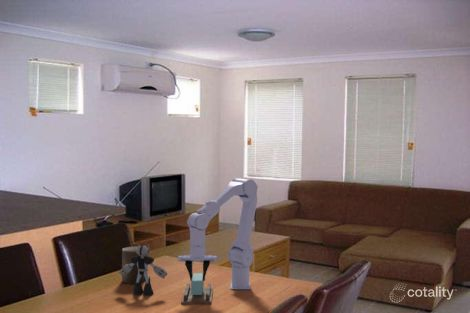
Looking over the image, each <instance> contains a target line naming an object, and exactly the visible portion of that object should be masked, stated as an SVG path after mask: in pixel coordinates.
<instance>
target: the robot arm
mask: <svg viewBox="0 0 470 313" xmlns="http://www.w3.org/2000/svg"><path fill="white" fill-rule="evenodd" d="M258 187H259V186H258V184H257V183H256V182H255V180H253V179H249V178H239V177H234V178H233V179H232V180H231V181H229V183H228V185H227V187H226V188H224V190H223V191H222V192H221V193H220V194H218V195H217V197H216V198H215V199H214V200H213V199H209V200H206V202H205V204H204V205H203V206H202V207H200V208H199V209H197V210H196V212H193V213H191V214H190V215H189V216H188V219H187V220H186V222H187V223H186V224H187V226H188V228H189V234H190V235H189V237H190V238H189V239H190V240H189V254H186V255H178V257H177V258H178V259H177V260H178V262H179V263H182V262H185V263H184V265H185V268H186V269H187V272H188V274H189V280H190V282H191V280H192V277H193V263H194V262H202V273H203V281H204V282H205V281H206V274H207V271H208V269H209V266H210V264H211V262H213V263H217V262H218V256H217V255H210V254H209V255H207V254H206V229H207V228H208V227H209V223H210V221H211V220H212V219H213V218H214V217H215V216H216V215H217V214H218V213H219V212H220V211H221V207H222V206H223V205H225V203H227V202H229V201H230V199H232V198H233V197H234V196H238V197H239V198H240V200H241V201H242V207H241V212H240V219H239V222H238V224H239V225H238V228H237V229H238V230H237V234H236V240H234V241H233V242H232V243H231V247H230V249H229V250H228V254H227V258H228V260H229V261H230V265H231V281H230V290H251V281H250V267H251V264H252V263H253V262H254V247H253V246H252V244H251V236H252V231H253V226H254V221H255V220H254V219H255V215H256V208H257V204H258V194H257V193H258Z"/></svg>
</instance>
